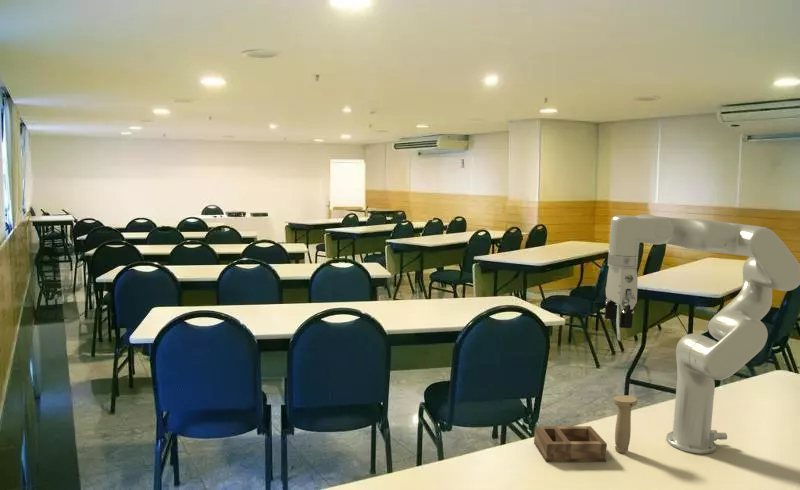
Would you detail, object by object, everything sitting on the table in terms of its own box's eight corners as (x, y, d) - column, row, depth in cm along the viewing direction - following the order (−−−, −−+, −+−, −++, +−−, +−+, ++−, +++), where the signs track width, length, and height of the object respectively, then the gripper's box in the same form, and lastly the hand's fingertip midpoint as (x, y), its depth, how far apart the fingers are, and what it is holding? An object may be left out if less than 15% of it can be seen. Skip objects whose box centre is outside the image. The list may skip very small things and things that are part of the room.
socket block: (589, 443, 167) (590, 426, 166) (605, 461, 156) (606, 443, 155) (534, 443, 166) (534, 426, 165) (546, 462, 155) (547, 444, 154)
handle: (637, 453, 161) (641, 400, 159) (617, 456, 159) (621, 403, 157) (624, 445, 166) (628, 394, 164) (606, 448, 163) (609, 396, 162)
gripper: (651, 266, 151) (645, 331, 153) (622, 257, 168) (617, 316, 170) (622, 265, 151) (617, 331, 153) (596, 256, 168) (592, 315, 170)
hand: (617, 323), depth 161 cm, fingers open, 9 cm apart
